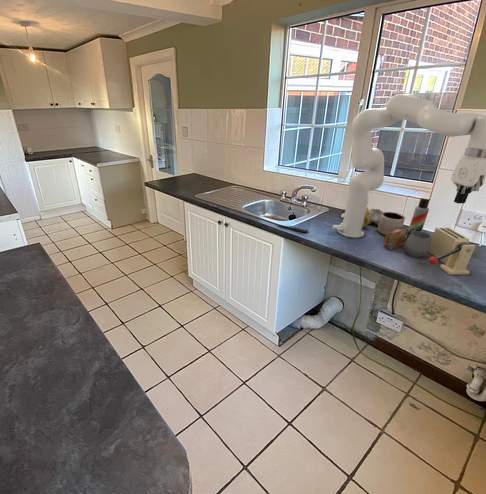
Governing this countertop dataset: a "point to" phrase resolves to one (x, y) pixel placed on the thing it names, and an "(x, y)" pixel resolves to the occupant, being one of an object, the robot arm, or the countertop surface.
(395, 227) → the planter
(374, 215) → the fossil
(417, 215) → the spray bottle
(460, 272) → the lever bracket
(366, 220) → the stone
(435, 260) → the red knob lever
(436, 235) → the toaster
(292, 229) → the knife
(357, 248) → the countertop surface
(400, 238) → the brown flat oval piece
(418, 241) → the cup
